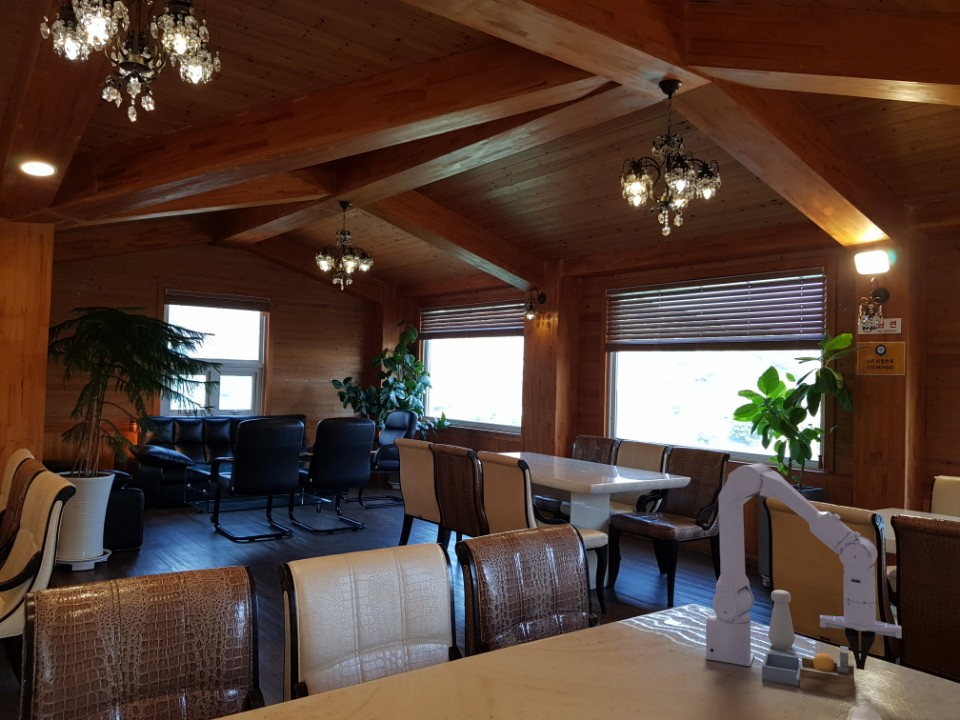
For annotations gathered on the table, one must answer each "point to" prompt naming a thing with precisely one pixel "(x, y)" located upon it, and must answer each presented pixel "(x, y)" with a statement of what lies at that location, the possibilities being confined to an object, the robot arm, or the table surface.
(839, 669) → the grey stepped block
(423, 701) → the table surface
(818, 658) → the ball
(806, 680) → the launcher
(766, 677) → the blue-grey open tray
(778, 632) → the salt shaker
